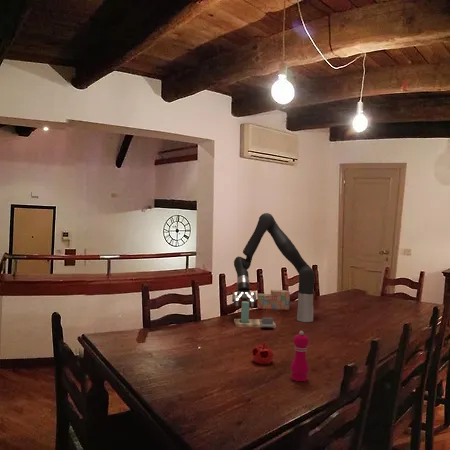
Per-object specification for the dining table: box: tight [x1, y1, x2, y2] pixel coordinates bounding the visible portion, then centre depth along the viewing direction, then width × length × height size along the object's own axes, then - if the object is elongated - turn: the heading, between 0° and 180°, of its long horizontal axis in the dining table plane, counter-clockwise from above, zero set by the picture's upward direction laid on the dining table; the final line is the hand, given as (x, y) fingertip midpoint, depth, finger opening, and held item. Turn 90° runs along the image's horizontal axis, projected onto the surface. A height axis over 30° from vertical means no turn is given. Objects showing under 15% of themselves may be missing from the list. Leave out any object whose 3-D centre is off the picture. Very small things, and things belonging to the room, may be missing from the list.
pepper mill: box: [290, 330, 310, 382], centre depth 183 cm, size 7×7×20 cm
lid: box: [260, 317, 275, 328], centre depth 255 cm, size 7×7×4 cm
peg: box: [240, 300, 250, 323], centre depth 262 cm, size 4×4×13 cm
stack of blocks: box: [256, 289, 291, 310], centre depth 310 cm, size 21×6×12 cm, turn 94°
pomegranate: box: [251, 341, 275, 365], centre depth 201 cm, size 10×10×9 cm
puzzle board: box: [233, 318, 277, 329], centre depth 263 cm, size 23×12×2 cm, turn 95°
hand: (244, 307), depth 264 cm, fingers open, 8 cm apart
